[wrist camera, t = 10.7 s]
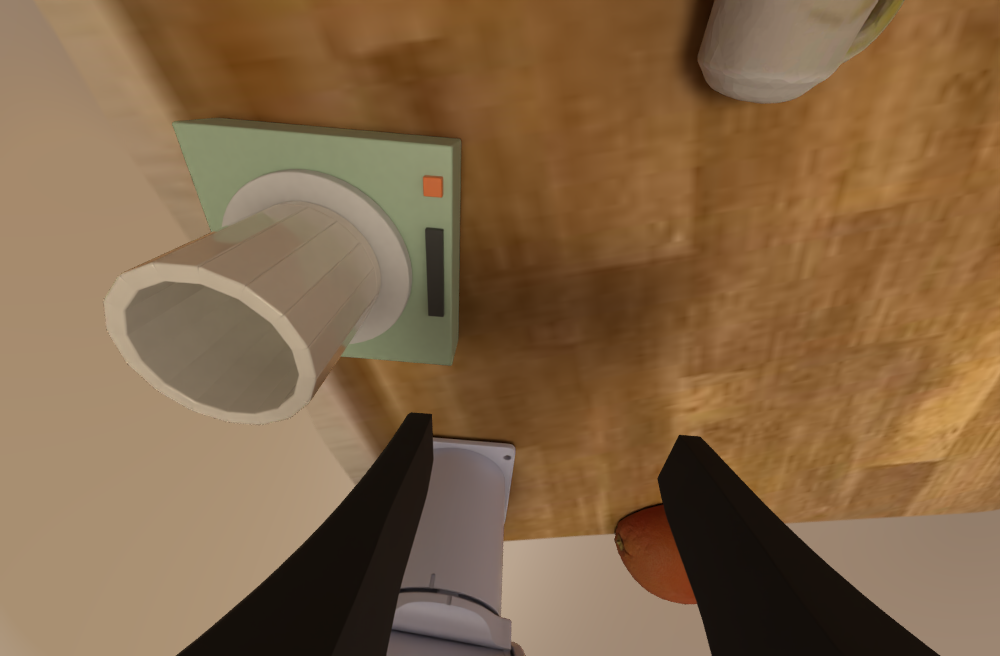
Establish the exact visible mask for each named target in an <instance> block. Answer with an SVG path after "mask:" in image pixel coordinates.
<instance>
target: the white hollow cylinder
mask: <svg viewBox="0 0 1000 656" xmlns="http://www.w3.org/2000/svg"><path fill="white" fill-rule="evenodd" d="M380 287H381V273H380V268H379V264H378V261H377V258H376V256H375V253H374V251H373V249H372V248H371V246H370V244H369V243H368V241H367V240H366V239H365V237H364V236H363V235H362V234H361V232H360V231H359V230H358V229H357V228H356V227H355V226H354V225H352V224H351V223H350V222H349V221H348V220H346V219H345V218H343V217H342V216H340V215H339V214H337V213H335V212H333V211H332V210H330V209H327V208H325V207H322V206H320V205H316V204H313V203H308V202H302V201H288V202H281V203H277V204H274V205H272V206H270V207H267V208H265V209H263V210H260V211H257V212H255V213H252V214H250V215H248V216H246V217H244V218H241V219H239V220H237V221H235V222H233V223H230V224H228V225H226V226H224V227H222V228H219V229H217V230H215V231H213V232H211V233H209V234H206V235H204V236H202V237H200V238H198V239H195V240H193V241H191V242H189V243H187V244H184V245H182V246H180V247H178V248H176V249H173V250H171V251H169V252H167V253H165V254H163V255H160V256H158V257H156V258H154V259H152V260H149V261H147V262H145V263H143V264H141V265H138V266H136V267H134V268H132V269H130V270H128V271H125V272H123V273H121V274H120V275H119V276H118V277H117V279H116V280H115V282H114V284H113V285H112V287H111V288H110V290H109V292H108V294H107V295H106V297H105V298H104V301H103V305H104V313H105V321H106V330H107V331H108V334H109V336H110V337H111V339H112V341H113V342H114V344H115V345H116V347H117V349H118V350H119V352H120V354H121V355H122V357H123V359H124V360H125V361H126V362H127V364H128V365H129V366H130V367H131V368H132V369H133V370H135V371H136V372H137V373H138V374H139V375H140V376H141V377H142V378H143V379H144V380H146V382H148V383H149V384H150V385H151V386H152V387H153V388H154V389H157V391H158V392H160V393H162V394H164V395H165V396H167V397H169V398H171V399H172V400H174V401H176V402H177V403H179V404H181V405H183V406H185V407H186V408H188V409H190V410H191V409H192V411H195V412H197V413H201V414H204V415H207V416H210V417H213V418H216V419H219V420H222V421H225V422H229V423H242V424H253V425H261V424H262V425H264V424H268V423H272V422H277V421H282V420H286V419H289V418H291V417H293V416H294V415H295V414H296V413H297V412H299V411H300V410H301V409H302V408H304V407H305V406H306V405H307V404H309V402H310V401H311V400H312V398H313V397H314V395H315V394H316V392H317V391H318V389H319V388H320V386H321V385H322V383H323V382H324V380H325V379H326V377H327V376H328V374H329V373H330V371H331V370H332V368H333V367H334V365H335V364H336V362H337V361H338V359H339V358H340V356H341V355H342V354H343V352H344V351H345V349H346V348H347V346H348V345H349V343H350V342H351V340H352V339H353V337H354V336H355V334H356V333H357V331H358V330H359V328H360V327H361V325H362V324H363V322H364V321H365V319H366V318H367V316H368V315H369V313H370V312H371V309H372V307H373V305H374V304H375V302H376V300H377V298H378V296H379V292H380Z"/></svg>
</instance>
